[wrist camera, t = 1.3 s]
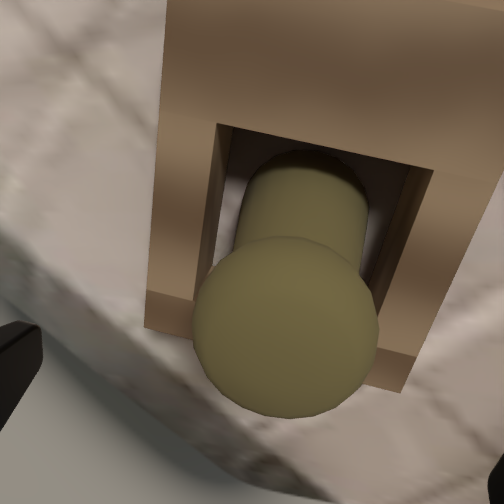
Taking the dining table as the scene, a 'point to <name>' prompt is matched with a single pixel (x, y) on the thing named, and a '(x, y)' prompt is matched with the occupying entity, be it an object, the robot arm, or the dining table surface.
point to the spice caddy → (333, 136)
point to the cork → (291, 292)
